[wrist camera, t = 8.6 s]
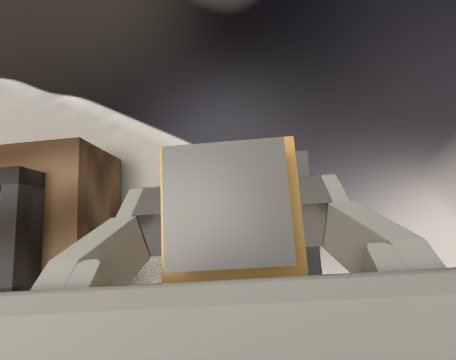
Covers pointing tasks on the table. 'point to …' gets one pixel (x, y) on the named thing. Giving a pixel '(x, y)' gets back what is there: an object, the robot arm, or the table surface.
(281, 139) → the plug
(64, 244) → the socket block
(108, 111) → the table surface
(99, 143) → the table surface
